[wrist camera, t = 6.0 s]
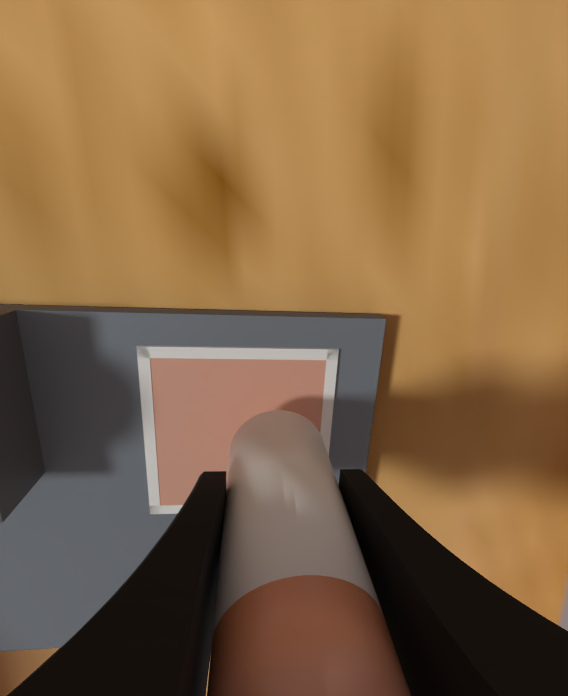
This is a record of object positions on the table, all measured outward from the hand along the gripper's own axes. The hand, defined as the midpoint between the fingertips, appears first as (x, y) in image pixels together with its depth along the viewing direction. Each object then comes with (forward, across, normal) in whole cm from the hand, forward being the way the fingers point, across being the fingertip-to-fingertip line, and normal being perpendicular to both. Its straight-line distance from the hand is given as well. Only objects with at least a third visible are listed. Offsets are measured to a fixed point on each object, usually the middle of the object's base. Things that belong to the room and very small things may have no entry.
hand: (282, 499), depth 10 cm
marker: (+2, 0, 0) cm, 2 cm away
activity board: (+4, +7, +3) cm, 9 cm away
